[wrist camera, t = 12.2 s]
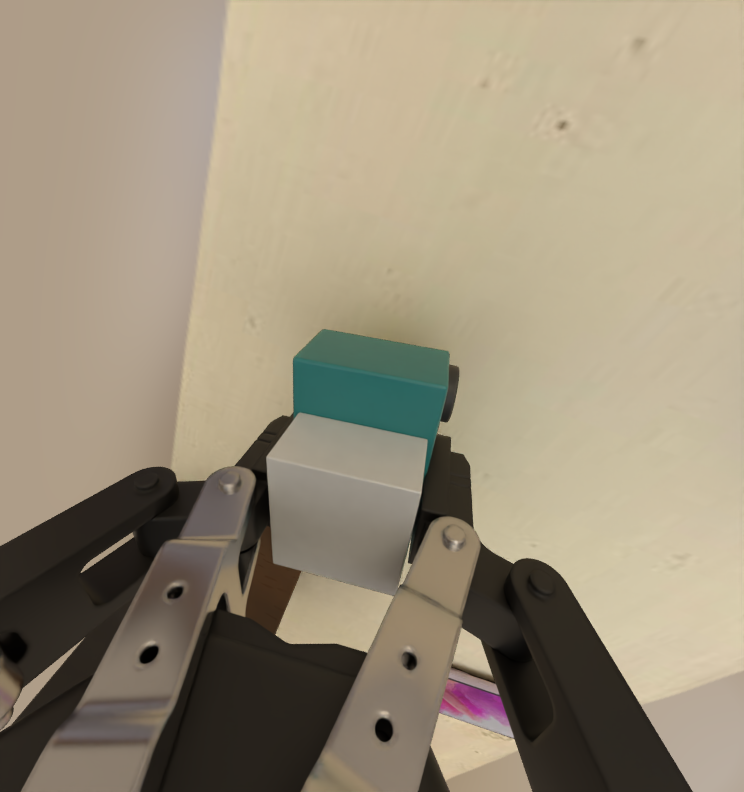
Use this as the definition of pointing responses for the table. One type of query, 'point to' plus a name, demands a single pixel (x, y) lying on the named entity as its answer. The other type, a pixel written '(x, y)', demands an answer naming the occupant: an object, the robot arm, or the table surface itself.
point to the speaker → (262, 604)
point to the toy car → (356, 456)
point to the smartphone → (475, 702)
